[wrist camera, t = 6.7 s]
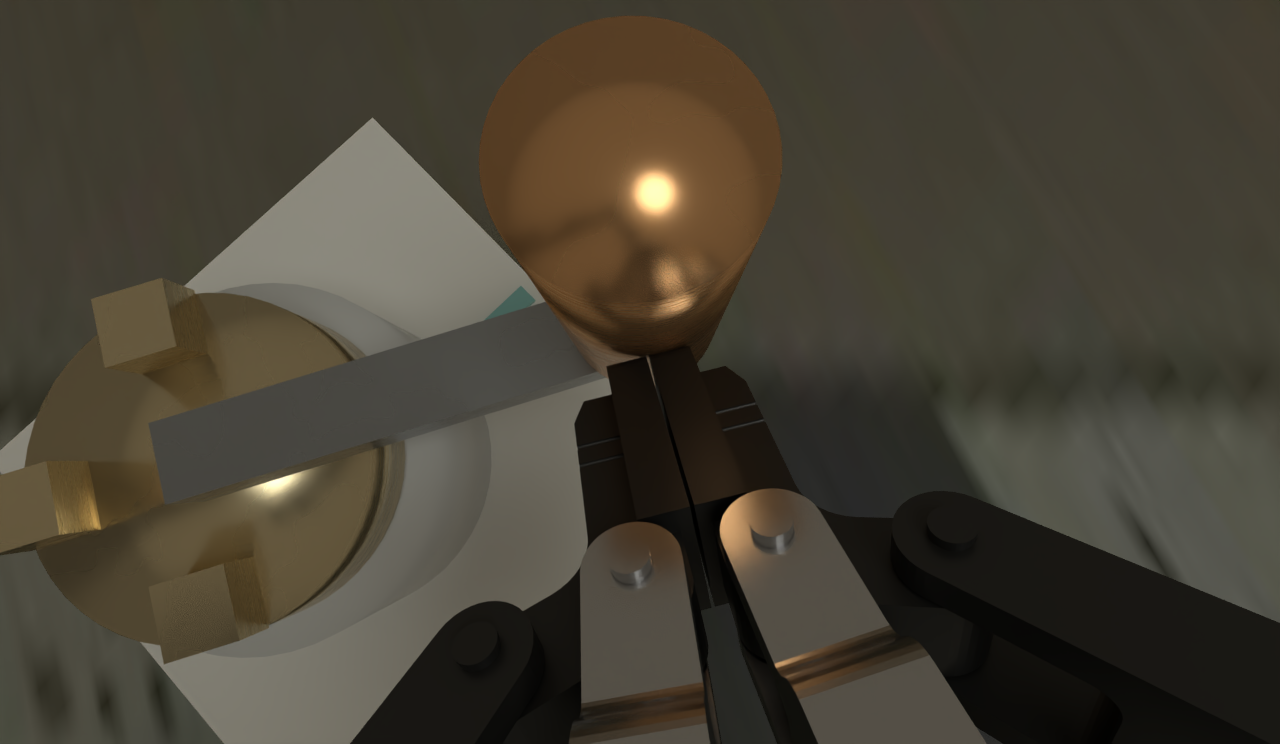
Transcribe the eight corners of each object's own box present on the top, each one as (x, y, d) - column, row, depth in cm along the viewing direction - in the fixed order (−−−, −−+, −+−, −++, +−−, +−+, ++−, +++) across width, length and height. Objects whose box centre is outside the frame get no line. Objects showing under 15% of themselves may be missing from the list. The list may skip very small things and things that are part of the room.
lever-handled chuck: (132, 665, 19) (-793, 1024, 7) (74, 363, 20) (-800, 213, 8) (749, 472, 19) (909, 488, 7) (656, 187, 20) (657, -212, 8)
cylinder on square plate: (342, 839, 25) (213, 995, 18) (25, 459, 28) (-206, 458, 20) (714, 466, 27) (737, 468, 20) (386, 135, 29) (295, 23, 22)
